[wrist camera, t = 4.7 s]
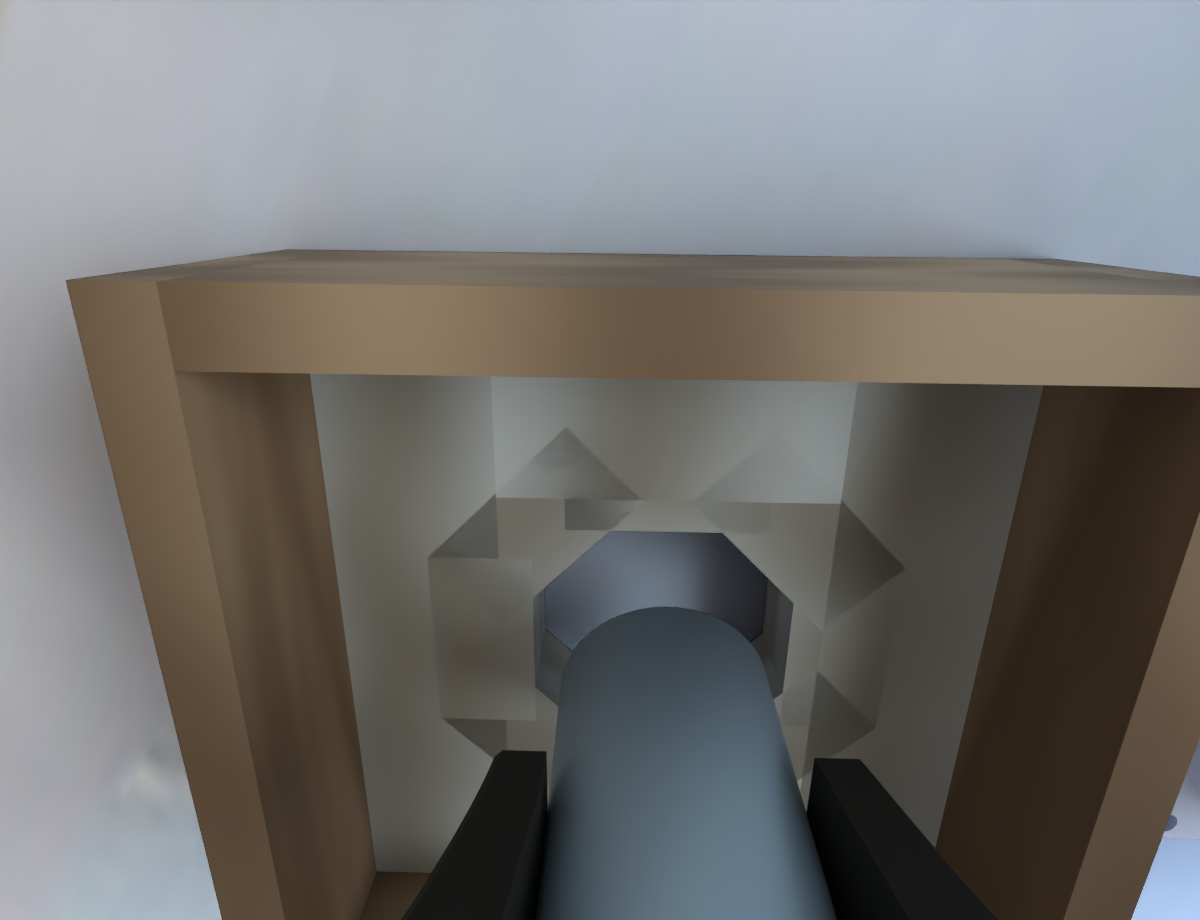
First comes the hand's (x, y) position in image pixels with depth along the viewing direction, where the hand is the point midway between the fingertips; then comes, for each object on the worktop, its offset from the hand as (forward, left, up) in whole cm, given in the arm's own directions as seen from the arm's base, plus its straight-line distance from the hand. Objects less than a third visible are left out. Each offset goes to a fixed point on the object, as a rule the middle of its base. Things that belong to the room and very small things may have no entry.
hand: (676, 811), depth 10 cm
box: (0, 0, -6) cm, 6 cm away
